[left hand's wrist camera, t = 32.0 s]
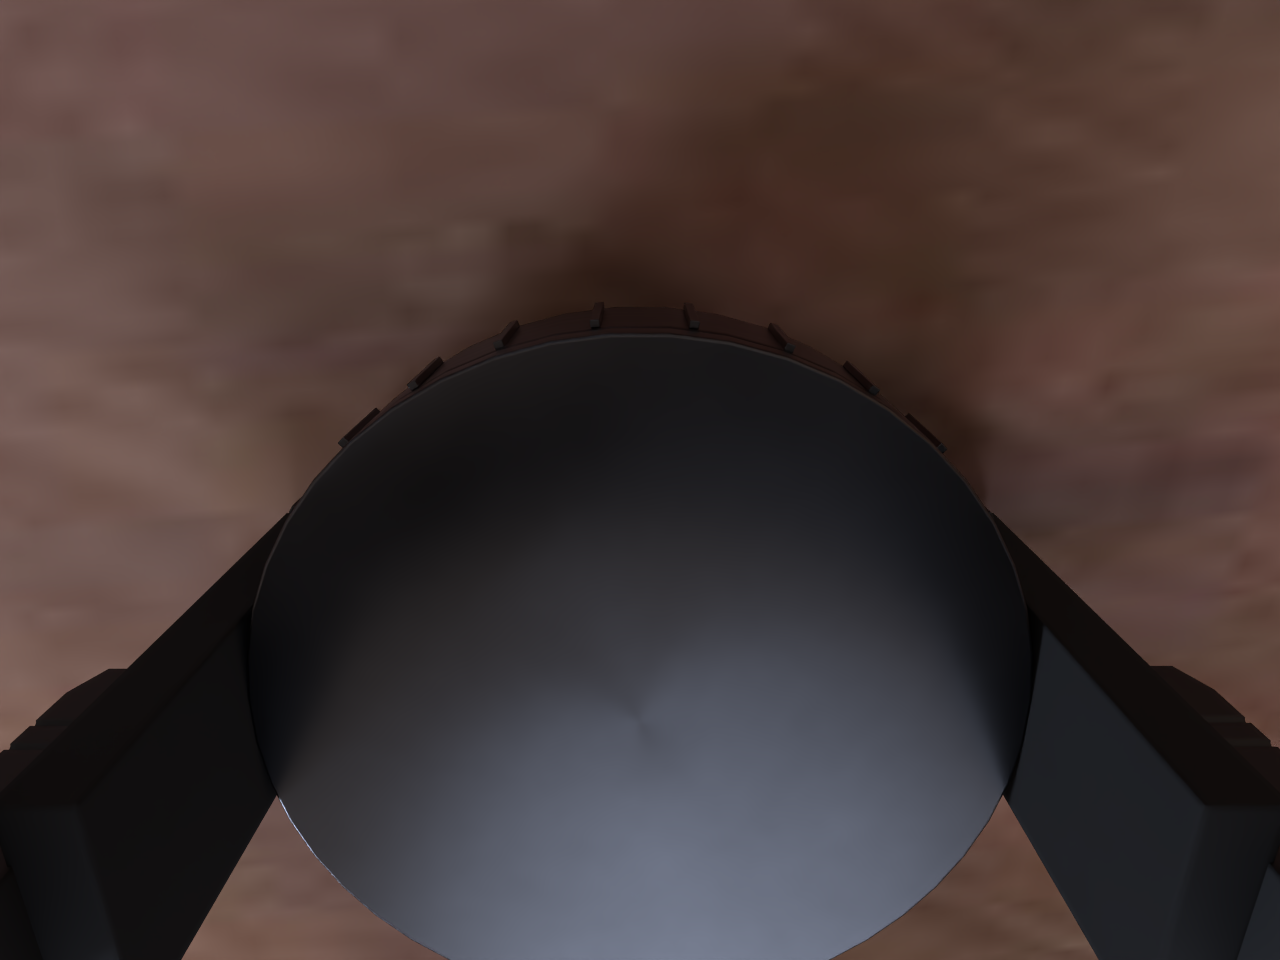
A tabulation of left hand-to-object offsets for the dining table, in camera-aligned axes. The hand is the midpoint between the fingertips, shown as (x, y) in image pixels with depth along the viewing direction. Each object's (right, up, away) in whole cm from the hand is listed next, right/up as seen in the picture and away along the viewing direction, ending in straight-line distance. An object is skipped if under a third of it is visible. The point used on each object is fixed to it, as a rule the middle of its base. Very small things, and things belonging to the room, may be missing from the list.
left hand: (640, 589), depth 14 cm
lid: (0, -1, -3) cm, 3 cm away
